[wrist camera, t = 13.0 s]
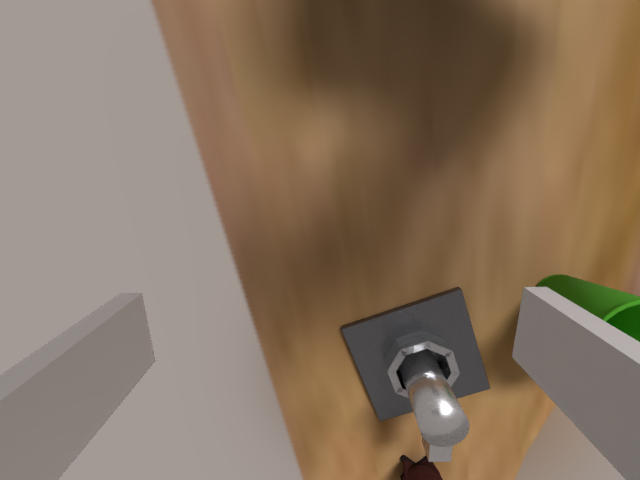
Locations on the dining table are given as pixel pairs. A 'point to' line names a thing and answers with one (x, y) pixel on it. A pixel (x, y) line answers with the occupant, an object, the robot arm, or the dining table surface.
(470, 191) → the dining table surface
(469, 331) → the duct flange
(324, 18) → the dining table surface
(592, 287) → the cup
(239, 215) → the dining table surface
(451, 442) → the elbow
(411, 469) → the mate gourd
